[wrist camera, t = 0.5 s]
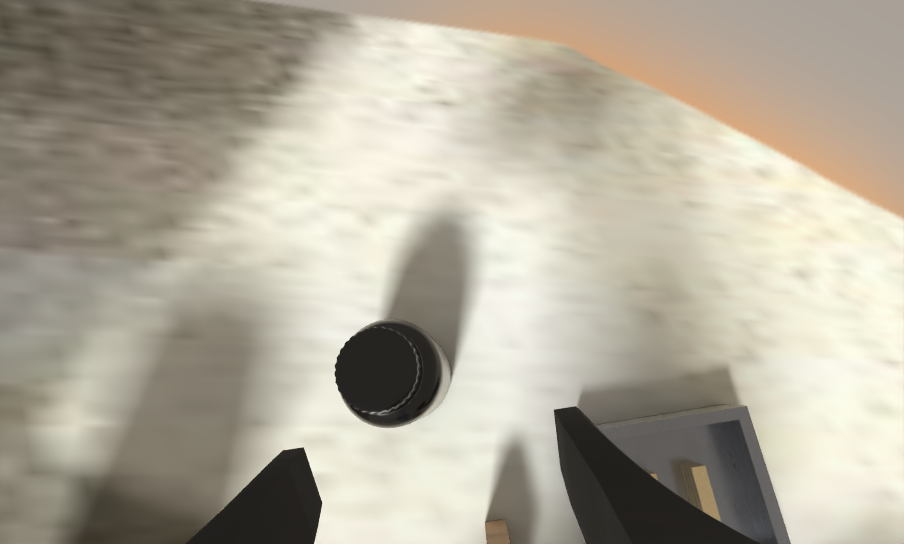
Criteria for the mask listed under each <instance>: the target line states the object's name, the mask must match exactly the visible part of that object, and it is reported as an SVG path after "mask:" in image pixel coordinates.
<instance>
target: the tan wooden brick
mask: <svg viewBox="0 0 904 544" xmlns="http://www.w3.org/2000/svg"><path fill="white" fill-rule="evenodd" d="M485 528H486V540H487V544H511V543H510V539H509V535H508V531H507V526H506V522H505V519H502V520H496V521H490V522H485Z"/></svg>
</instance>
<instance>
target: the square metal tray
mask: <svg viewBox="0 0 904 544" xmlns="http://www.w3.org/2000/svg"><path fill="white" fill-rule="evenodd" d="M595 426H596V427H597V428H598V429H599V430H600V431H601V432H602V433H603V434H604V435H605V436H606V437H607V438H608V439H609V440H610V441H611V442H613V443H614V444H615V445H616V446H617V447H618V448H619V449H620V450H621V451H623V452H624V453H625V454H626V455H627V456H628V457H629V458H630V459H632V460H633V461H634V462H635V463H636V464H638V465H639V466H640V467H641V468H643V469H644V470H645V471H646V472H648V473H649V474H650V475H651V476H653V477H654V478H655V479H656V480H658V481H659V482H660V483H662V484H663V485H664V486H666V487H667V488H668V489H670V490H671V491H673V492H674V493H676V494H677V495H678V496H680V497H681V498H683V499H684V500H686V501H687V502H689V503H690V504H692V505H693V506H695V507H696V508H698V509H700V510H701V511H703V512H705V513H706V514H708V515H710V516H711V517H713V518H715V519H717V520H718V521H720V522H722V523H724V524H725V525H727V526H729V527H730V528H732V529H734V530H736V531H738V532H739V533H741V534H743V535H745V536H747V537H749V538H751V539H753V540H755V541H757V542H759V543H761V544H791V543H790V540H789V537H788V533H787V530H786V527H785V524H784V521H783V518H782V515H781V512H780V508H779V505H778V502H777V499H776V496H775V493H774V490H773V487H772V483H771V480H770V477H769V474H768V471H767V468H766V465H765V462H764V458H763V455H762V452H761V449H760V446H759V443H758V440H757V437H756V433H755V430H754V427H753V424H752V421H751V418H750V415H749V412H748V408H747V406H740V405H725V404H723V405H716V406H710V407H704V408H698V409H692V410H685V411H679V412H673V413H667V414H661V415H654V416H648V417H642V418H636V419H630V420H623V421H617V422H611V423H605V424H599V425H595Z"/></svg>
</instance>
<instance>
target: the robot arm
mask: <svg viewBox="0 0 904 544" xmlns="http://www.w3.org/2000/svg"><path fill="white" fill-rule="evenodd" d="M554 415H555V424H556V432H557V441H558V449H559V458H560V466H561V471H562V475H563V479H564V482H565V486H566V489H567V493H568V496H569V500H570V503H571V506H572V509H573V511H574V514H575V516H576V519H577V521H578V524H579V526H580V529H581V531H582V534H583V536H584V539H585V541H586V544H761V543H759V542H757V541H755V540H753V539H751V538H749V537H747V536H745V535H743V534H741V533H739V532H738V531H736V530H734V529H732V528H730V527H729V526H727V525H725V524H724V523H722V522H720V521H718V520H717V519H715V518H713V517H711V516H710V515H708V514H706V513H705V512H703V511H701V510H700V509H698V508H696V507H695V506H693V505H692V504H690V503H689V502H687V501H686V500H684V499H683V498H681V497H680V496H678V495H677V494H676V493H674V492H673V491H671V490H670V489H668V488H667V487H666V486H664V485H663V484H662V483H660V482H659V481H658V480H656V479H655V478H654V477H653V476H651V475H650V474H649V473H648V472H646V471H645V470H644V469H643V468H641V467H640V466H639V465H638V464H636V463H635V462H634V461H633V460H632V459H630V458H629V457H628V456H627V455H626V454H625V453H624V452H623V451H621V450H620V449H619V448H618V447H617V446H616V445H615V444H614V443H613V442H611V441H610V440H609V439H608V438H607V437H606V436H605V435H604V434H603V433H602V432H601V431H600V430H599V429H598V428H597V427H596V426H595V425H594V424H593V423H592V422H591V421H590V420H589V419H588V418H587V417H586V416H585V415H584V413H583V412H582V411H581V410H580V409H578V408H577V407H576V406H575V407H569V408H562V409H556V410H554ZM321 507H322V501H321V498H320V495H319V492H318V489H317V486H316V483H315V480H314V477H313V474H312V471H311V468H310V465H309V462H308V459H307V456H306V453H305V450H304V447H303V448H296V449H290V450H283V451H282V452H281V453H280V454H279V455H278V456H276V457H275V458H274V459H273V460H272V461H271V462H270V463H269V464H268V465H267V466H266V467H265V468H264V469H263V470H262V471H261V472H260V473H259V474H258V475H257V476H256V477H255V478H254V479H253V480H252V481H251V482H250V483H249V484H248V485H247V486H246V487H245V488H244V489H243V490H242V491H241V492H240V493H239V494H238V495H237V496H236V497H235V498H234V499H233V500H232V501H231V502H230V503H229V504H228V505H227V506H226V507H225V508H224V509H223V510H222V511H221V512H220V513H219V514H217V515H216V516H215V517H214V518H213V519H212V520H211V521H210V522H209V523H208V524H207V525H206V526H205V527H203V528H202V529H201V530H200V531H199V532H198V533H197V534H196V535H195V536H194V537H193V538H192V539H190V540H189V541H188V542H187V543H186V544H314V541H315V537H316V533H317V528H318V523H319V518H320V513H321Z"/></svg>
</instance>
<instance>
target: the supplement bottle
mask: <svg viewBox="0 0 904 544" xmlns="http://www.w3.org/2000/svg"><path fill="white" fill-rule="evenodd" d="M335 368H336V371H335V377H336V384H337V385H338V391H339V392H340V394H341V397H342V399H343V401H344V403H345V404H346V406H347V407H348V409H349V410H350V411H351V412H352V413H353V414H354V415H355V416H356V417H357V418H359V419H360V420H362V421H363V422H365V423H367V424H370V425H372V426H376V427H382V428H395V427H401V426H404V425H407V424H410V423H412V422H414V421H416V420H418V419H420V418H423V417H425V416H427V415H428V414H430V413H431V412H433V411H434V410H435V409H436V408H437V407H438V406H439V405H440V404H441V403H442V401H443V400H444V398H445V396H446V394H447V392H448V389H449V385H450V379H451V372H450V365H449V362H448V359H447V357H446V355H445V353H444V351H443V350H442V349H441V347H440V346H439V345H438V344H437V343H436V342H435V341H434V340H433V339H432V338H431V337H430V336H429V335H428V334H427V333H426V332H425V331H424V330H423V329H421V328H420V327H418V326H416V325H414V324H412V323H410V322H407V321H403V320H397V319H387V320H381V321H377V322H374V323H371V324H369V325H367V326H365V327H364V328H362V329H361V330H360V331H358V332H357V333H356V334H355V335H354V336H352V337H351V338H350V340H349V341H347V342H346V343H345V345H344V347H343V348H342V349H341V350H340V354H339V355H338V357H337V363H336V364H335Z"/></svg>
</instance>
